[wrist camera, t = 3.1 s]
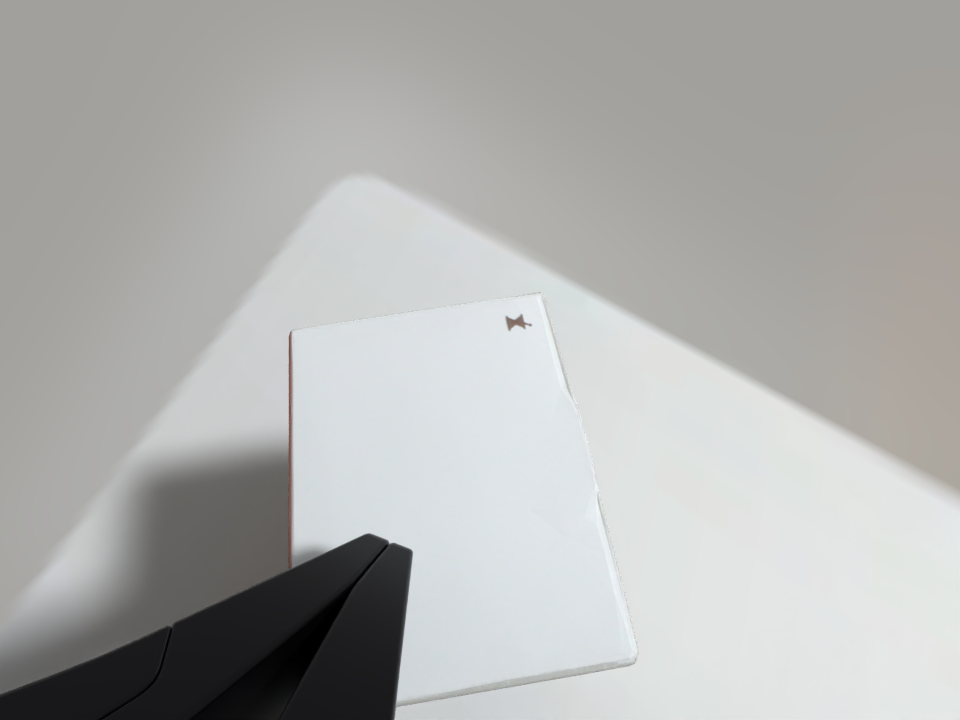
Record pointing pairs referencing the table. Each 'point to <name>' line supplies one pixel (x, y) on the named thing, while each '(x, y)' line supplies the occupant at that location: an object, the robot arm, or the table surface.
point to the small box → (461, 490)
